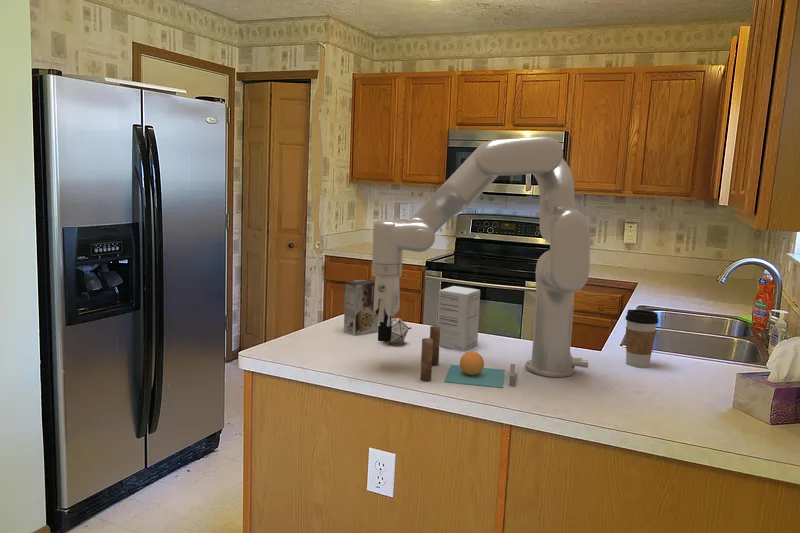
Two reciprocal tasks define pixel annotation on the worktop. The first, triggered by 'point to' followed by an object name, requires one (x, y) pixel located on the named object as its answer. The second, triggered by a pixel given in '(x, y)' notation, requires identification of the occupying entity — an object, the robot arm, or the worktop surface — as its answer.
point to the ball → (471, 363)
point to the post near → (426, 359)
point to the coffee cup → (640, 337)
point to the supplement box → (458, 317)
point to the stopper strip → (512, 375)
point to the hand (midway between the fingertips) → (384, 340)
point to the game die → (398, 330)
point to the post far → (435, 344)
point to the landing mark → (476, 377)
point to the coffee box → (360, 307)
